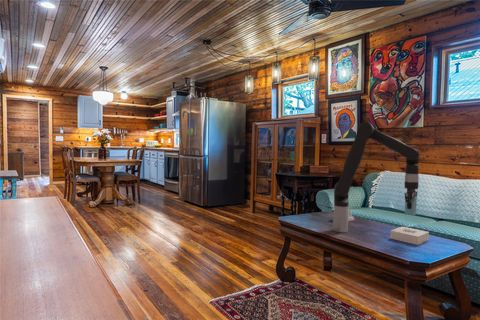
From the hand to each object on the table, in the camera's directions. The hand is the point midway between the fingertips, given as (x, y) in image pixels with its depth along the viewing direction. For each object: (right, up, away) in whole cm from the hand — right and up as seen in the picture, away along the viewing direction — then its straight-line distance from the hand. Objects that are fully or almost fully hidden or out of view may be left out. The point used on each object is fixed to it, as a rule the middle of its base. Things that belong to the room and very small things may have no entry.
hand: (410, 208), depth 193 cm
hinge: (-25, -17, +48) cm, 57 cm away
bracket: (0, -4, 0) cm, 4 cm away
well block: (0, -19, +1) cm, 19 cm away
